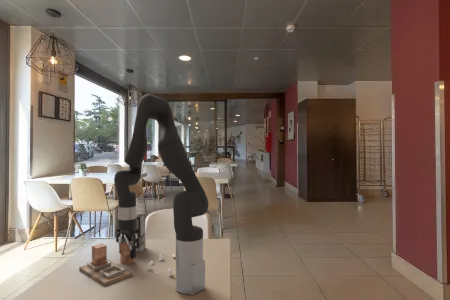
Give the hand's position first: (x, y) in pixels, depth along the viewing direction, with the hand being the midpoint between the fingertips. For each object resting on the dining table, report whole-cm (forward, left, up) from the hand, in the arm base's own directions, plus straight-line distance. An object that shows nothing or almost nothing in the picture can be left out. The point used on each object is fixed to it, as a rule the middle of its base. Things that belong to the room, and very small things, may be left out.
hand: (127, 255), depth 120 cm
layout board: (-3, +11, -3) cm, 12 cm away
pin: (0, 0, -3) cm, 3 cm away
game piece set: (-17, -10, -3) cm, 20 cm away
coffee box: (+11, -10, -3) cm, 15 cm away
